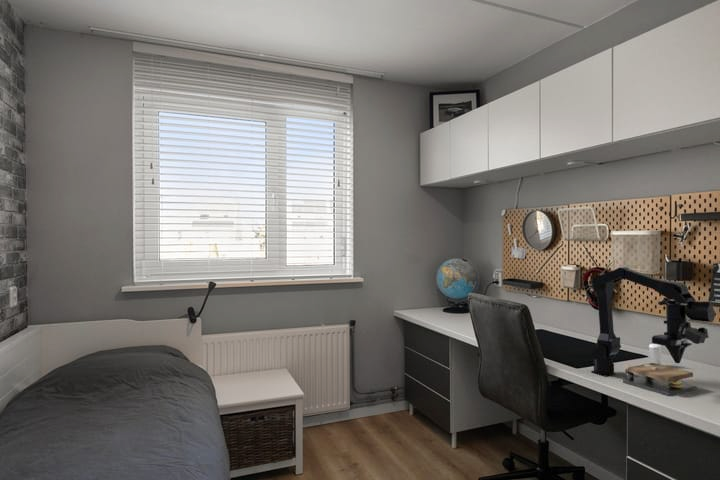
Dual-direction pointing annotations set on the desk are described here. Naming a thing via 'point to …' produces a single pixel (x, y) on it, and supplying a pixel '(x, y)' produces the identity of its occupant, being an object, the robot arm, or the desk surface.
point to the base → (658, 384)
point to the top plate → (660, 372)
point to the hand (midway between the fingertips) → (677, 363)
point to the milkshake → (655, 353)
